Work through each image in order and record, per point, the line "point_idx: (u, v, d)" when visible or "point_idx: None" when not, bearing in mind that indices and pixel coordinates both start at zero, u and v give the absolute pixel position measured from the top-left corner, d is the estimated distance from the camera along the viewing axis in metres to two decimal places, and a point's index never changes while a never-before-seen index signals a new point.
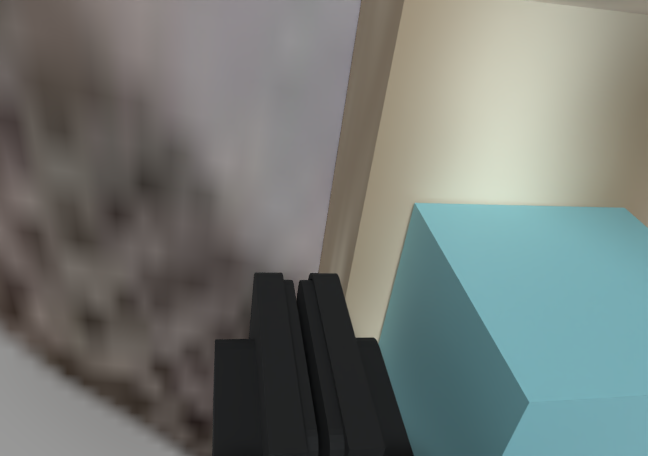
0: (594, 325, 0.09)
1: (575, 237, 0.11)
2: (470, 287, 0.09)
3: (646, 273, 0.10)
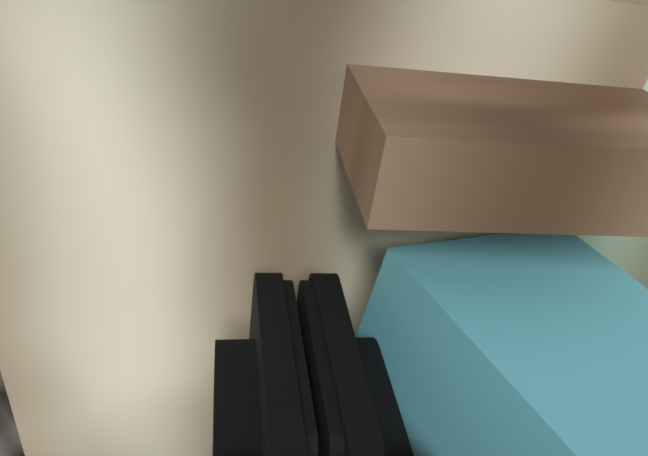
0: (611, 376, 0.08)
1: (544, 268, 0.11)
2: (490, 353, 0.08)
3: (616, 301, 0.10)
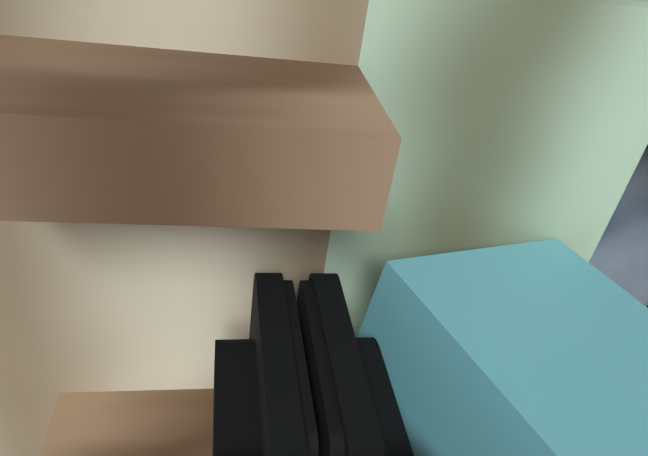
0: (604, 390, 0.09)
1: (539, 281, 0.11)
2: (486, 367, 0.08)
3: (609, 314, 0.11)
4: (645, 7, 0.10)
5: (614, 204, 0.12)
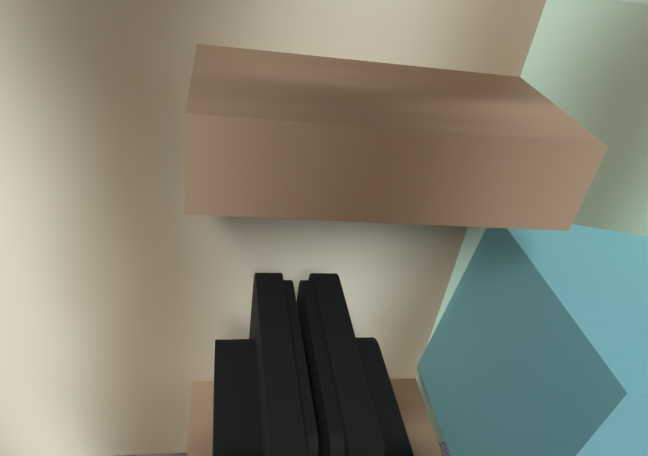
0: None
1: (637, 260, 0.12)
2: (558, 291, 0.10)
3: None
4: None
5: None
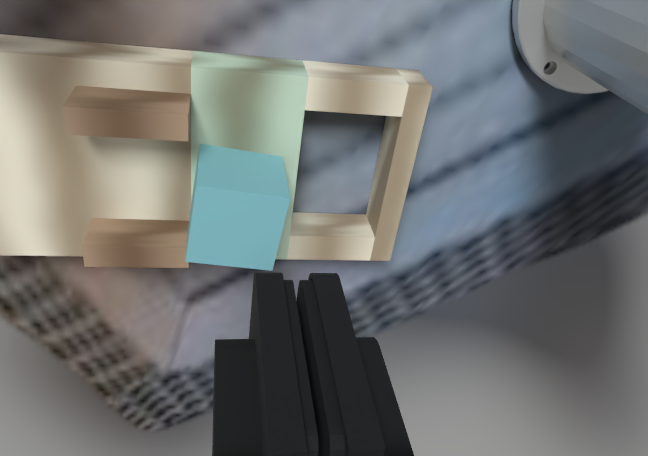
0: (231, 177, 0.30)
1: (251, 160, 0.32)
2: (200, 164, 0.30)
3: (265, 171, 0.31)
4: (284, 74, 0.31)
5: (299, 143, 0.33)
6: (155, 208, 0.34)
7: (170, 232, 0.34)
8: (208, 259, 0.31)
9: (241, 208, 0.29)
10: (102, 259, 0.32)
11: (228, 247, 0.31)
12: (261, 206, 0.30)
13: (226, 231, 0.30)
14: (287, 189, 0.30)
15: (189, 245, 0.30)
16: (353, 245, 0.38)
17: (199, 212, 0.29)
